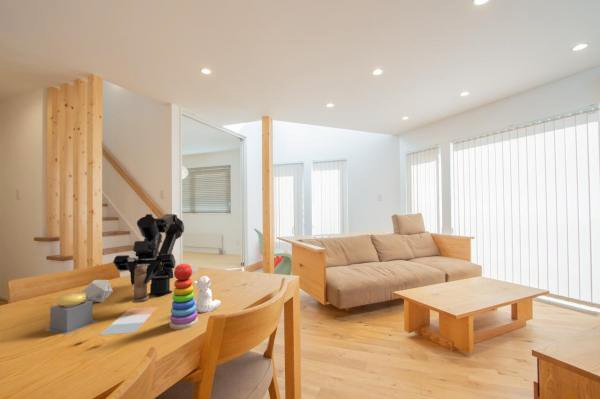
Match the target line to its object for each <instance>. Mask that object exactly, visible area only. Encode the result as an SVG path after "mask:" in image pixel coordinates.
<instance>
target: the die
mask: <svg viewBox="0 0 600 399" xmlns="http://www.w3.org/2000/svg"><path fill="white" fill-rule="evenodd" d="M109 282H110V281H109V280H108V279H94V280H92V282H90V283H89V284H88V285H87V286H86V287H84V288H83V289H82V293H86V301H92V302H93V304H94V302H100V303H99V304H101V303H103V302H104V301H105V300H106V299H107V298H108V297H109V296H110V295H111V294H112V293H113V292H114V291H113V288H112V286H111V284H110V283H109Z"/></svg>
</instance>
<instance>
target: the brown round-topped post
mask: <svg viewBox="0 0 600 399" xmlns="http://www.w3.org/2000/svg"><path fill="white" fill-rule="evenodd" d="M134 272H135V274H134V284H133V297H132V298H131V303H133V304H139V303H140V304H141V303H145V302H147V301H149V296H150V295H148V283H147V284H145V279H146V276H147V266H146V265H138V266H137V267H136V268H135V271H134Z"/></svg>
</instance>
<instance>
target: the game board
mask: <svg viewBox="0 0 600 399" xmlns="http://www.w3.org/2000/svg"><path fill="white" fill-rule="evenodd" d="M157 308H158V306H150V307H149V306H148V307H147V306H146V307H135V308H134V307H133V308H129V309H128V310H126V311H125V312H124V313H123V314H121V315H120V316H119V317H118V318H117V319H116V320H115V321H113V322H112V323H111V324H110V325H109V326H107V328H105V329H104V330H103V331H102V332H100V333H98V334H99V336H105V335H120V334H129V333H130V334H132V333H136V332H137V330H138V329H140V327H141V326H142V325H143V324H144V323H145V322H146V321H147V320H148V318H149V317H150V316H151V315H152V314H153V313H154V312H155V311H156V310H157Z"/></svg>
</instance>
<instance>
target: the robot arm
mask: <svg viewBox="0 0 600 399" xmlns="http://www.w3.org/2000/svg"><path fill="white" fill-rule="evenodd" d="M136 225H137V227H138V230H139V232H140V234H141V236H142V237H143V238H144V239H143V240H136V241H134V244H133V248H132V252H135V253H134V254H135V257H130V255H129V254H128V255H127V254H125V255H124V254H122V255H121V254H120V255H116V256H115V257H114V259H113V260H112V262H113V264H114V266H115V268H116V269H117V271H128V272H130V274H129V275H130V284H131V285H132V286H134V274H135V272H134V271H135V268H136V267H138V266H140V265H143V266H146V269H147V276H146V279H145V284H147V285H148V283H149V282H150V285H149V286H150V287H149V289H150V292H149V293H148V292H147V295H148V296H154V297H162V296H165V295H168V294H171V293H173V290H170V287H171V286H170V284H171V283H170V281H171V279H174V270H173V269H175V268H176V259H175V255H174V254H173V253H172V252H173V249H174V246H175V243H176V240H177V239H179V238H181V237H182V235H183V233H184V232H185V225H184V222H183V220H181V218H178V215H177V214H173V213H171V214H168V213H166V214H164V215H163V216H161V217H159V218H154V216H153V214H151V213H148V214H147V213H146V214H145V216H143V217H141V218H139V219H138V220H137V221H136ZM162 234H164V235H165V238H164V239H163V235H162ZM161 243H162V244H161Z"/></svg>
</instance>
